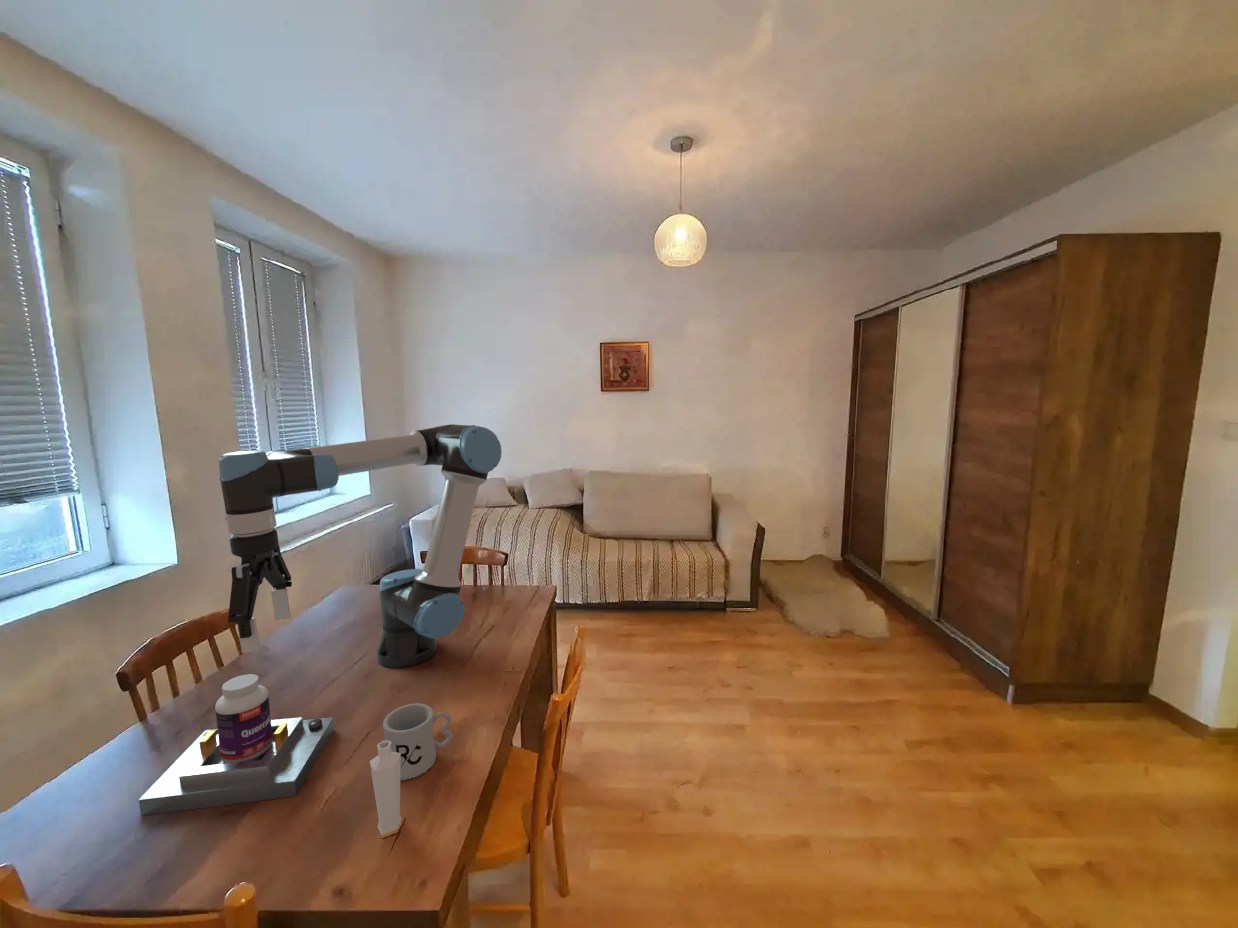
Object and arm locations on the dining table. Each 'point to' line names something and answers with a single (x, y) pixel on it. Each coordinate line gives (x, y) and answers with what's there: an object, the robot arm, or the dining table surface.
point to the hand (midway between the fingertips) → (268, 633)
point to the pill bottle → (243, 719)
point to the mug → (414, 737)
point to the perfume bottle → (387, 786)
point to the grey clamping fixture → (240, 770)
